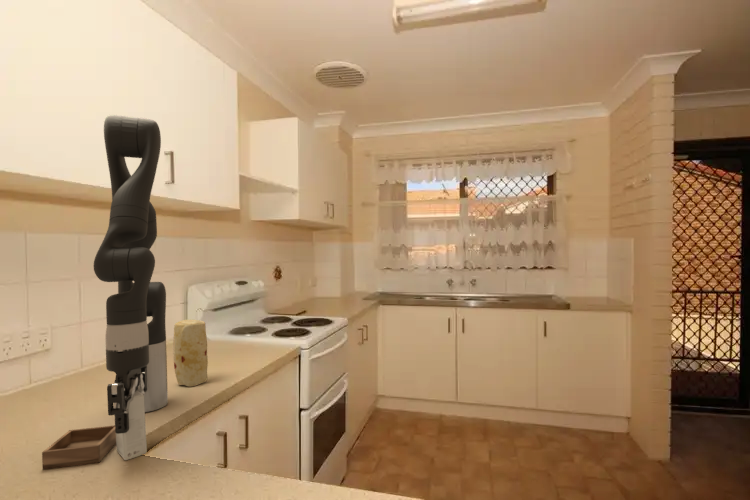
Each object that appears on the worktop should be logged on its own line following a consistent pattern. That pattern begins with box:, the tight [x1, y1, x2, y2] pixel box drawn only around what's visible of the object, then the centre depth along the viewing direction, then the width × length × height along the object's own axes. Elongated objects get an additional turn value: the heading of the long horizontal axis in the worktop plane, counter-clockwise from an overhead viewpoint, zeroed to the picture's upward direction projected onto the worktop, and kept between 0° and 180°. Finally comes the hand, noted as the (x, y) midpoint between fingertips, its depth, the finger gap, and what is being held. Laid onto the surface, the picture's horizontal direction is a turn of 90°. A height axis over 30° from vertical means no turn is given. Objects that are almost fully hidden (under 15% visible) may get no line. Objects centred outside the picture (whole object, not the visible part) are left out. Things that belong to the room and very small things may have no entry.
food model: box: [172, 319, 209, 388], centre depth 123 cm, size 10×7×20 cm
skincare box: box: [113, 391, 148, 461], centre depth 82 cm, size 6×4×12 cm
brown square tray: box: [41, 424, 116, 470], centre depth 82 cm, size 10×10×3 cm
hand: (129, 424), depth 82 cm, fingers closed on skincare box, 7 cm apart
